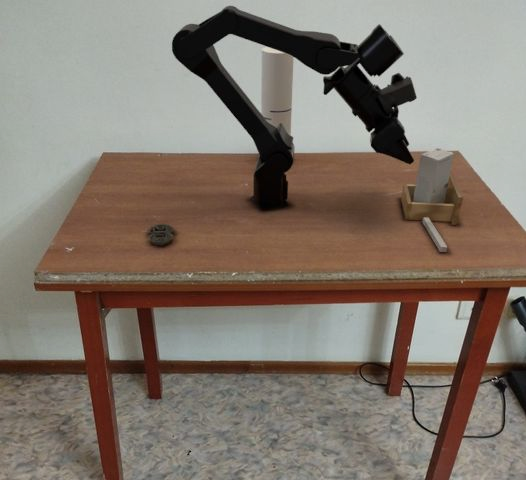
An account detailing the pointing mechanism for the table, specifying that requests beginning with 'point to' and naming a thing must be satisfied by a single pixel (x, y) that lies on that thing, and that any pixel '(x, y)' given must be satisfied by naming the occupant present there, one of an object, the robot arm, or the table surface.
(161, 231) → the corroded twin loop
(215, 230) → the table surface
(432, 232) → the ruler
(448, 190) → the wooden tray frame
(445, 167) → the cosmetic box
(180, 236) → the table surface
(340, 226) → the table surface
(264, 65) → the cylindrical container
